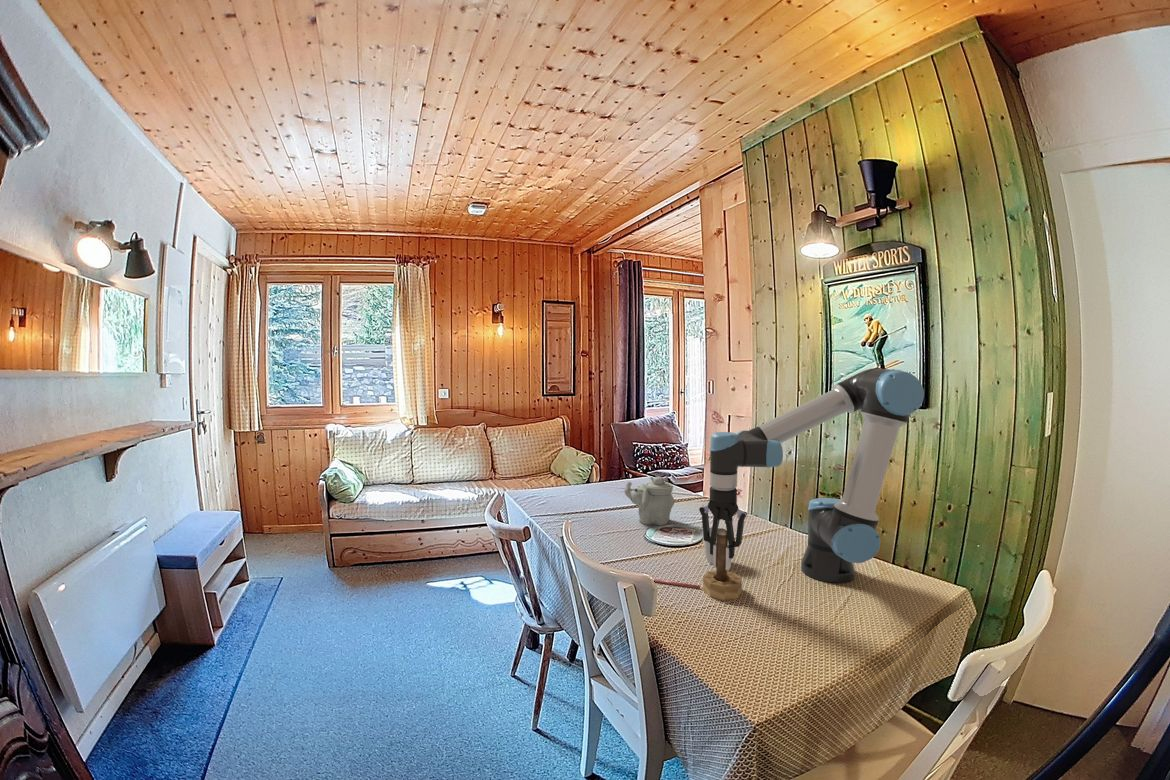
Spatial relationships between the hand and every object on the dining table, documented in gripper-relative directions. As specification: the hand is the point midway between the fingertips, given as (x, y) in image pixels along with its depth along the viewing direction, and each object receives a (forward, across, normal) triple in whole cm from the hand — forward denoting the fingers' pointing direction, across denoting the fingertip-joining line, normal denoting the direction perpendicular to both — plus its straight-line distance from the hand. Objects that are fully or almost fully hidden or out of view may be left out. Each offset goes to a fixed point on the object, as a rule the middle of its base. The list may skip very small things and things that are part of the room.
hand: (721, 567), depth 153 cm
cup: (+7, +8, -20) cm, 23 cm away
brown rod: (+4, 0, 0) cm, 4 cm away
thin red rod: (+7, +13, +2) cm, 15 cm away
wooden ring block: (+7, 0, 0) cm, 7 cm away
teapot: (+8, +42, -46) cm, 63 cm away
